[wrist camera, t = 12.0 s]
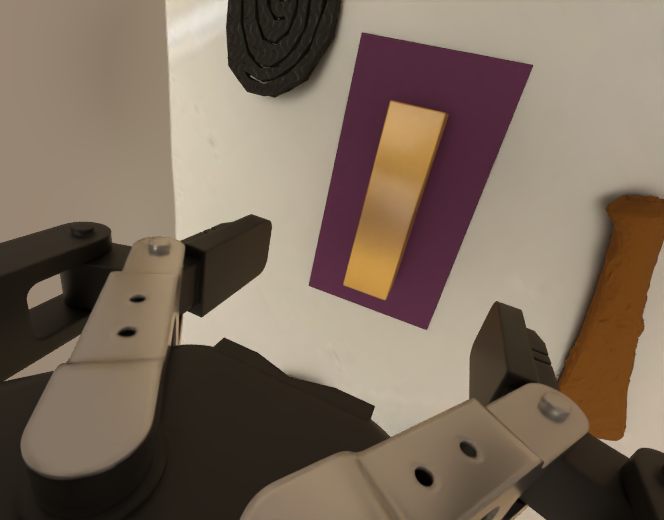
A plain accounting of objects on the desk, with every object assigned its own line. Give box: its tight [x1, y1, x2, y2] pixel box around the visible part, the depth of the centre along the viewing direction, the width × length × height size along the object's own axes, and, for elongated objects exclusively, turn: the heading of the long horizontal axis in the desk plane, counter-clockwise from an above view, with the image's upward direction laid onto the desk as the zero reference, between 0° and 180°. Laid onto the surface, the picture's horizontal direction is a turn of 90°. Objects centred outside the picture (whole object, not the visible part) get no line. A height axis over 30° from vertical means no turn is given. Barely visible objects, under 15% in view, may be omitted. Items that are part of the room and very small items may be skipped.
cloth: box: [309, 33, 533, 330], centre depth 27 cm, size 20×11×1 cm, turn 167°
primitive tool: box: [558, 195, 664, 441], centre depth 24 cm, size 19×6×4 cm, turn 6°
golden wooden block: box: [343, 100, 449, 300], centre depth 25 cm, size 13×3×4 cm, turn 167°
